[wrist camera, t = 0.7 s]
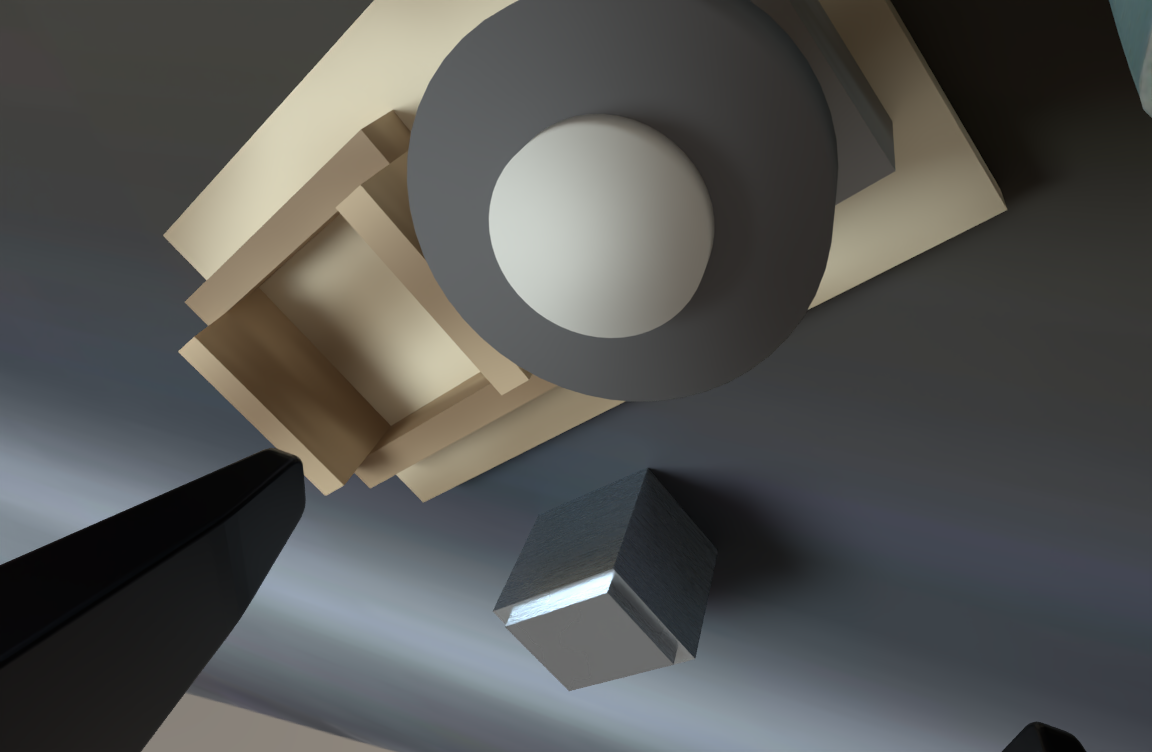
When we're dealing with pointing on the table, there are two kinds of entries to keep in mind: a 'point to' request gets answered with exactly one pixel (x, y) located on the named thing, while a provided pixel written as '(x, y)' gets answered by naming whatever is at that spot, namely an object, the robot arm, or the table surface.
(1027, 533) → the table surface
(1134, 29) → the flower pot
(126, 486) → the table surface
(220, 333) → the chassis board
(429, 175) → the grey rounded knob
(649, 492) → the brushed metal cube
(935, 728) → the table surface
